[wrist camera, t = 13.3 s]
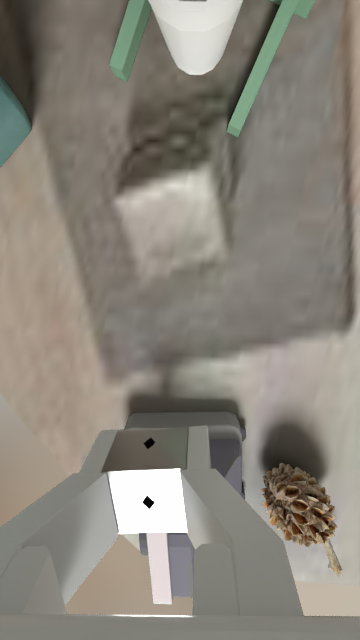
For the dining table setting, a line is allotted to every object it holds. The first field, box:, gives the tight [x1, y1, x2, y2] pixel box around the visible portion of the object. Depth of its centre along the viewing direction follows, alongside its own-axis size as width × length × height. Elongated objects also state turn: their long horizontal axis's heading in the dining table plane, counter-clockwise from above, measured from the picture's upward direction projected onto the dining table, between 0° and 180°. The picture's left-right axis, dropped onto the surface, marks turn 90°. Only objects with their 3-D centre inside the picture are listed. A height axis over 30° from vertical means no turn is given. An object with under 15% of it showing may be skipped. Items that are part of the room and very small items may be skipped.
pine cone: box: [260, 463, 342, 576], centre depth 45 cm, size 22×10×10 cm, turn 36°
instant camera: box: [124, 411, 246, 604], centre depth 43 cm, size 21×21×15 cm
